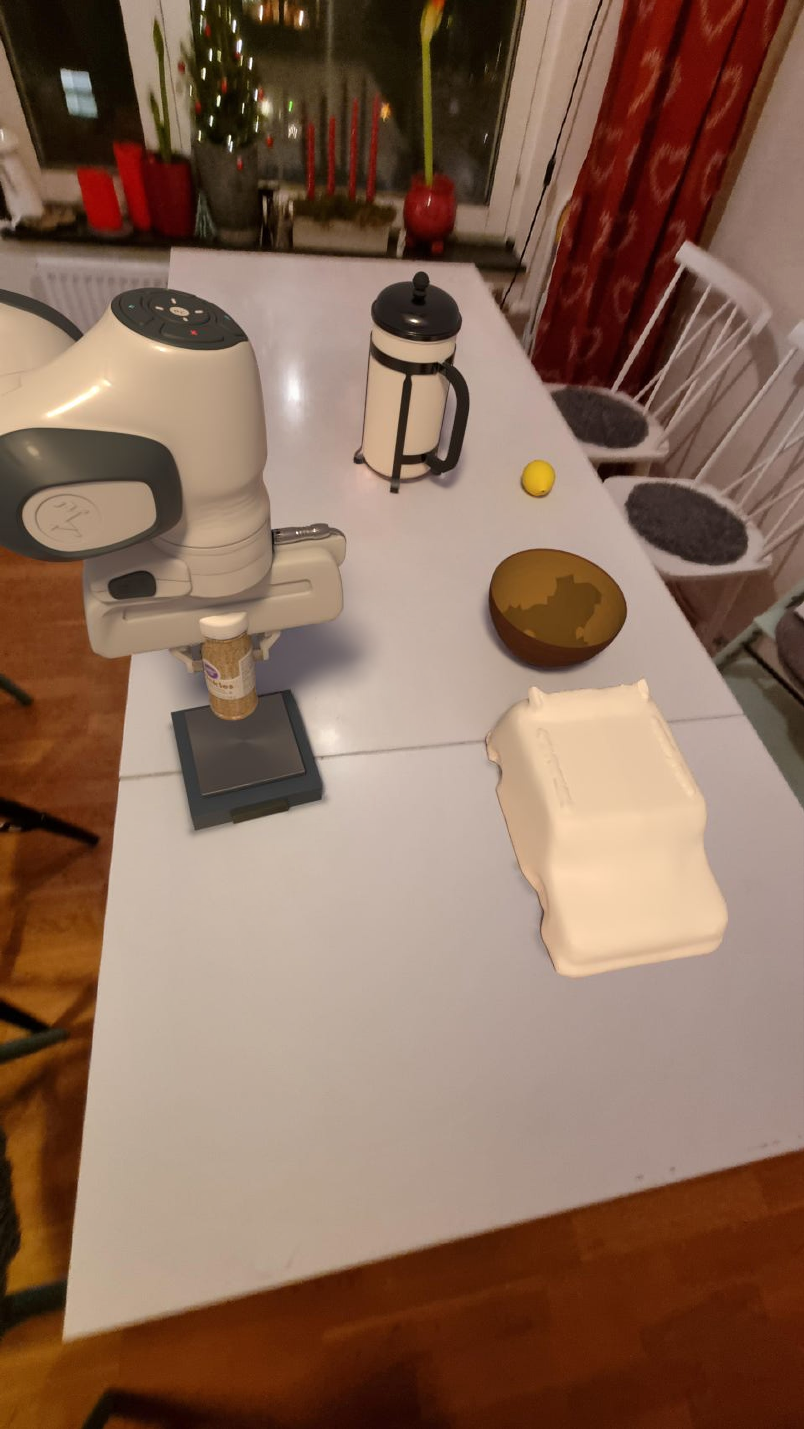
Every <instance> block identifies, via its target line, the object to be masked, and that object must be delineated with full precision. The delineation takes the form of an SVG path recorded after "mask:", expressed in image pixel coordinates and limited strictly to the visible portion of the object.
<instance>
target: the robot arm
mask: <svg viewBox="0 0 804 1429" xmlns="http://www.w3.org/2000/svg"><path fill="white" fill-rule="evenodd" d="M264 401H265V400H264V393H263V387H262V380H261V374H260V368H259V365H258V360H257V357H256V352H255V349H254V347H253V344H252V342H251V340H250V338H249V337H248V335H247V333H246V332H245V331H244V329H243V328H242V327H241V326H240V325H239V323H237V322H236V321H235V319H234V318H233V317H232V316H230V314H228V313H227V312H226V311H225V310H224V309H223V308H221V307H220V306H218V305H217V304H215V303H213V302H211V301H207V300H206V299H204V298H201V297H199V296H197V295H195V294H192V293H190V292H186V291H182V290H177V289H172V288H165V287H156V286H155V287H153V286H152V287H151V286H150V287H139V288H135V289H130V290H126V291H123V292H121V293H119V294H117V295H116V296H115V297H113V298H112V299H111V300H110V303H109V304H108V306H107V308H106V309H105V312H104V313H103V315H102V316H101V317H100V319H99V320H97V322H96V323H95V324H94V325H93V326H92V327H91V328H90V329H89V330H88V331H87V332H86V333H83V332H82V330H81V329H80V328H79V327H78V326H77V325H76V324H75V323H73V321H71V319H69V318H68V317H67V316H66V315H64V314H63V313H62V312H60V311H58V310H57V309H56V308H54V307H52V306H50V305H49V304H47V303H44V302H42V301H40V300H38V299H36V298H33V297H30V296H27V295H24V294H21V293H18V292H14V291H11V290H7V289H3V288H0V546H1V547H2V548H4V549H6V550H8V551H10V552H11V553H12V552H13V553H15V554H17V555H19V556H23V557H24V558H29V559H32V560H36V561H40V562H41V561H42V562H49V563H73V562H74V563H75V562H80V561H82V563H83V567H82V570H81V588H82V596H83V597H82V599H83V609H84V617H85V623H86V630H87V636H88V640H89V644H90V647H91V650H92V652H93V653H94V654H96V655H98V656H100V657H103V658H105V659H108V660H109V659H115V658H116V659H117V658H122V657H128V656H134V655H139V654H145V653H151V652H156V651H162V650H168V652H169V655H171V656H172V657H174V658H176V659H177V660H178V661H180V662H181V663H184V664H185V666H186V670H187V674H188V675H191V674H194V673H195V674H196V673H201V672H204V671H205V668H204V662H203V658H202V653H201V646H200V643H204V642H205V641H206V639H205V637H206V636H204V635H202V634H201V629H200V623H199V621H200V620H201V619H203V618H207V617H211V616H218V615H225V614H230V613H237V612H246V613H247V615H248V624H249V626H248V628H247V629H246V630H247V631H246V632H247V635H250V636H251V641H252V649H253V660H254V663H258V662H262V661H268V660H269V659H270V652H269V651H270V650H269V649H271V647H273V645H274V644H275V643H276V641H277V640H278V638H279V637H280V636H281V630H287V629H293V628H298V627H303V626H309V625H315V624H322V623H328V622H332V621H335V620H336V619H337V618H338V617H339V616H340V615H341V613H342V612H343V610H344V606H345V605H344V604H345V603H344V588H343V581H342V576H341V571H340V566H342V564H343V563H344V561H345V560H346V555H347V538H346V535H345V534H344V532H343V531H342V530H340V529H339V528H336V527H330V526H329V524H328V523H322V522H321V523H320V522H319V523H312V524H310V525H305V526H288V527H279V528H272V518H271V516H272V514H271V513H272V512H271V500H270V495H269V491H268V489H267V486H266V484H265V481H264V471H265V467H266V464H267V460H268V435H267V420H266V411H265V402H264Z"/></svg>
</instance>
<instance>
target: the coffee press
mask: <svg viewBox="0 0 804 1429" xmlns="http://www.w3.org/2000/svg"><path fill="white" fill-rule="evenodd" d="M429 277H430V276H429V275H428V273H427V272H425V271H422V270H421V271H417V272H416V273H415V274H414V276H413V278H412V281H411V280H409V281H408V280H407V281H399V282H395V283H392V284H389V285H388V286H386V287H384V288H383V289H382V290H381V291H380V292H379V293H378V294H377V297H376V299H375V300H374V301H373V302H372V303H371V306H370V316H371V319H372V329H371V331H370V335H369V348H368V359H367V371H366V384H365V397H364V412H363V421H362V422H363V424H362V433H361V434H362V437H361V445H360V447H359V448H358V449H357V450H356V451H355V452H354V455H353V463H355V464H357V465H360V464H362V463H364V462H366V463H367V464H368V465H369V467H370V468H371V469H372V470H374V471H376V472H377V473H379V474H381V475H382V476H385V477H388V478H390V487H389V493H393V494H399V488H400V487H399V486H400V480H410V479H415V478H418V477H421V476H423V475H424V474H427V473H428V472H430V473H431V474H433V475H434V476H436V477H438V476H439V477H440V476H441V475H442V474H444V473H445V474H446V473H448V472H451V471H453V469H455V468H456V466H457V465H458V463H459V460H460V457H461V453H462V449H463V446H464V445H463V444H464V440H465V435H466V431H467V426H468V420H469V414H470V407H471V406H470V403H471V399H470V391H469V387H468V384H467V381H466V379H465V377H464V376H463V374H462V373H461V372H460V371H459V369H458V368H457V367H456V366H454V364H455V359H456V358H455V357H456V351H457V337H458V333H459V332H460V331H461V330H462V325H463V316H462V314H461V313H460V308H459V305H458V303H457V301H456V300H455V298H454V297H453V296H452V295H451V294H450V293H449V292H447V291H446V290H444V289H442V288H441V287H439V286H436V285H433V284H431V281H430V278H429ZM450 385H451V386H452V388H453V390H454V394H455V399H456V400H455V401H456V405H455V406H456V407H455V412H454V418H453V422H452V423H453V424H452V428H451V433H450V440H449V443H448V450H447V454H446V457H445V459H444V460H443V459H441V458H440V457H438V454H439V447H440V442H441V436H442V431H443V427H444V426H443V425H444V420H445V414H446V409H447V403H448V397H449V393H450V392H449V391H450ZM361 452H362V454H363V456H362V457H361V458H357V456H358V455H359V454H360V453H361Z"/></svg>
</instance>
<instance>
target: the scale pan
mask: <svg viewBox="0 0 804 1429" xmlns="http://www.w3.org/2000/svg"><path fill="white" fill-rule="evenodd" d="M185 718H186V722H187V727H188V732H189V737H190V741H191V746H192V751H193V756H194V760H195V765H196V770H197V775H198V780H199V784H200V789H201V794H202V798H206V797H210V796H214V795H219V794H223V793H227V792H232V791H236V790H240V789H244V788H249V787H253V786H257V785H261V784H266V783H270V782H274V781H279V780H283V779H287V778H291V777H296V776H300V775H304V774H305V769H304V766H303V762H302V759H301V756H300V753H299V749H298V746H297V743H296V740H295V736H294V733H293V730H292V727H291V723H290V720H289V717H288V714H287V711H286V707H285V704H284V701H283V698H282V694H281V693H279V694H274V695H269V696H264V697H259V698H258V704H257V707H256V708H255V710H254V712H253V713H251V714H250V715H249V716H247V717H245V718H243V719H240V720H235V721H233V720H225V719H222V718H219V717H218V716H217V715H215V713H214V712H213V710H212V709H211V707H208V708H203V709H198V710H193V711H188V712H185Z"/></svg>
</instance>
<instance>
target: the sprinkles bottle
mask: <svg viewBox="0 0 804 1429" xmlns="http://www.w3.org/2000/svg"><path fill="white" fill-rule="evenodd" d="M199 623H200V629H201V634H202V635H204V636H206V637H205V639H206V641H205V642H204V643H199V645H200V649H201V653H202V658H203V662H204V668H205V671H203V672H204V677H205V684H206V687H207V689H208V696H209V699H208V702H209V704H208V705H210V707H211V709H212V710H213V712H214V713H215V715H217V716H218V717H219V718H222V719H225V720H233V721H235V720H240V719H243V718H245V717H247V716H249V715H250V714H251V713H253V712H254V710H255V708H256V707H257V704H258V696H257V695H258V694H257V689H256V688H257V687H256V670H255V669H256V668H255V662H254V660H253V649H252V641H251V636H252V635H247V632H246V631H247V630H246V629H247V628H248V626H249V624H248V615H247V613H246V612H237V613H230V614H225V615H218V616H211V617H207V618H203V619H201V620H200V621H199Z"/></svg>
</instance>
